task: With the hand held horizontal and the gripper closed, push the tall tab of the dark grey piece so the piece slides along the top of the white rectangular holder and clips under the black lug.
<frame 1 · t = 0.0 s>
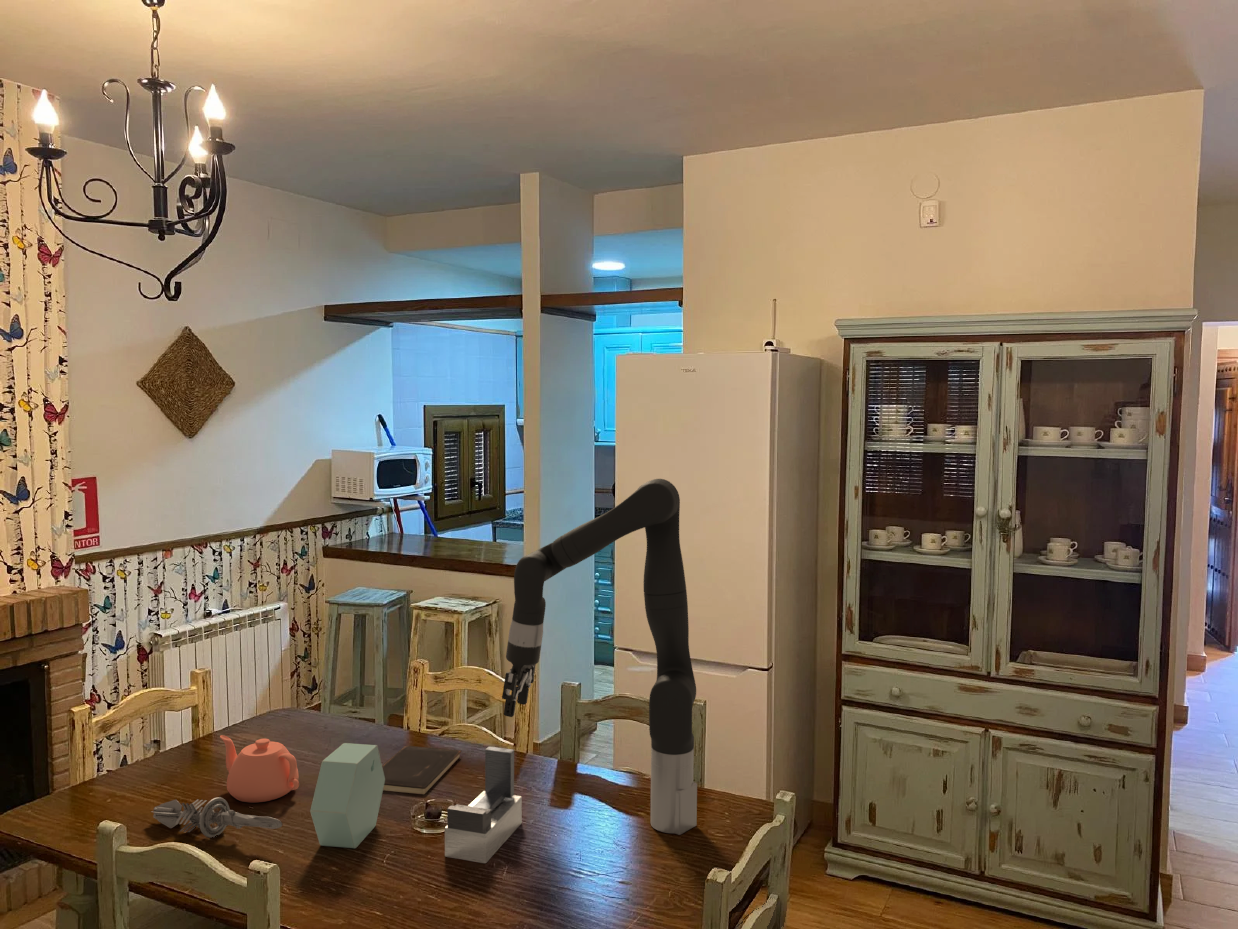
hand: (515, 709, 201), 22 cm above the table, fingers open, 8 cm apart
hardcover book: (413, 775, 221), on the table
dark grey piece: (490, 780, 189), point 11 cm above the table, slide at 0.0 cm
teapot: (259, 792, 209), on the table
white rectangular holder: (484, 839, 187), on the table
spaceship: (216, 836, 188), on the table
mint hexagonal prism: (349, 835, 189), on the table
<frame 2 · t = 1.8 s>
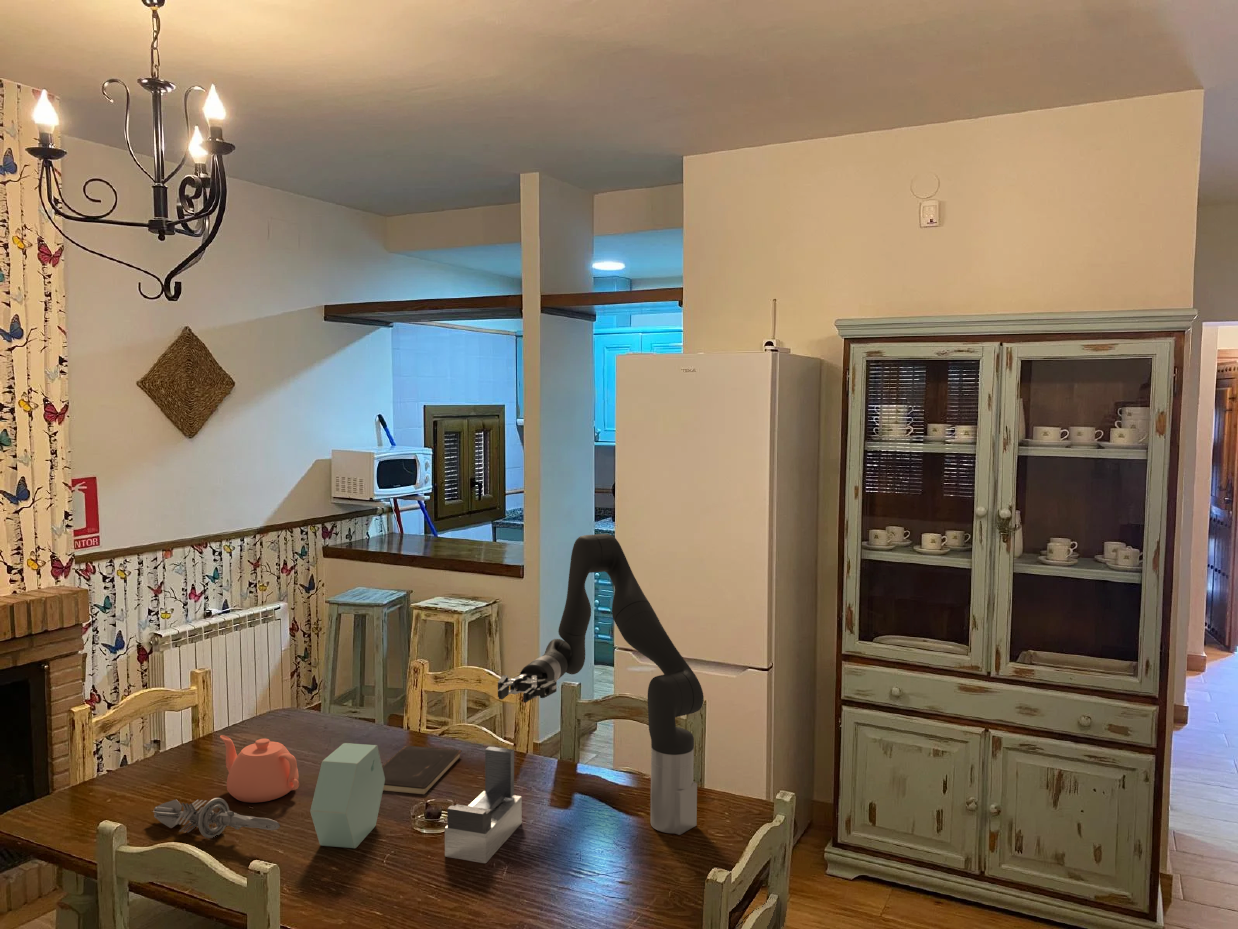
hand: (512, 696, 199), 26 cm above the table, fingers open, 5 cm apart
nothing on the table moved.
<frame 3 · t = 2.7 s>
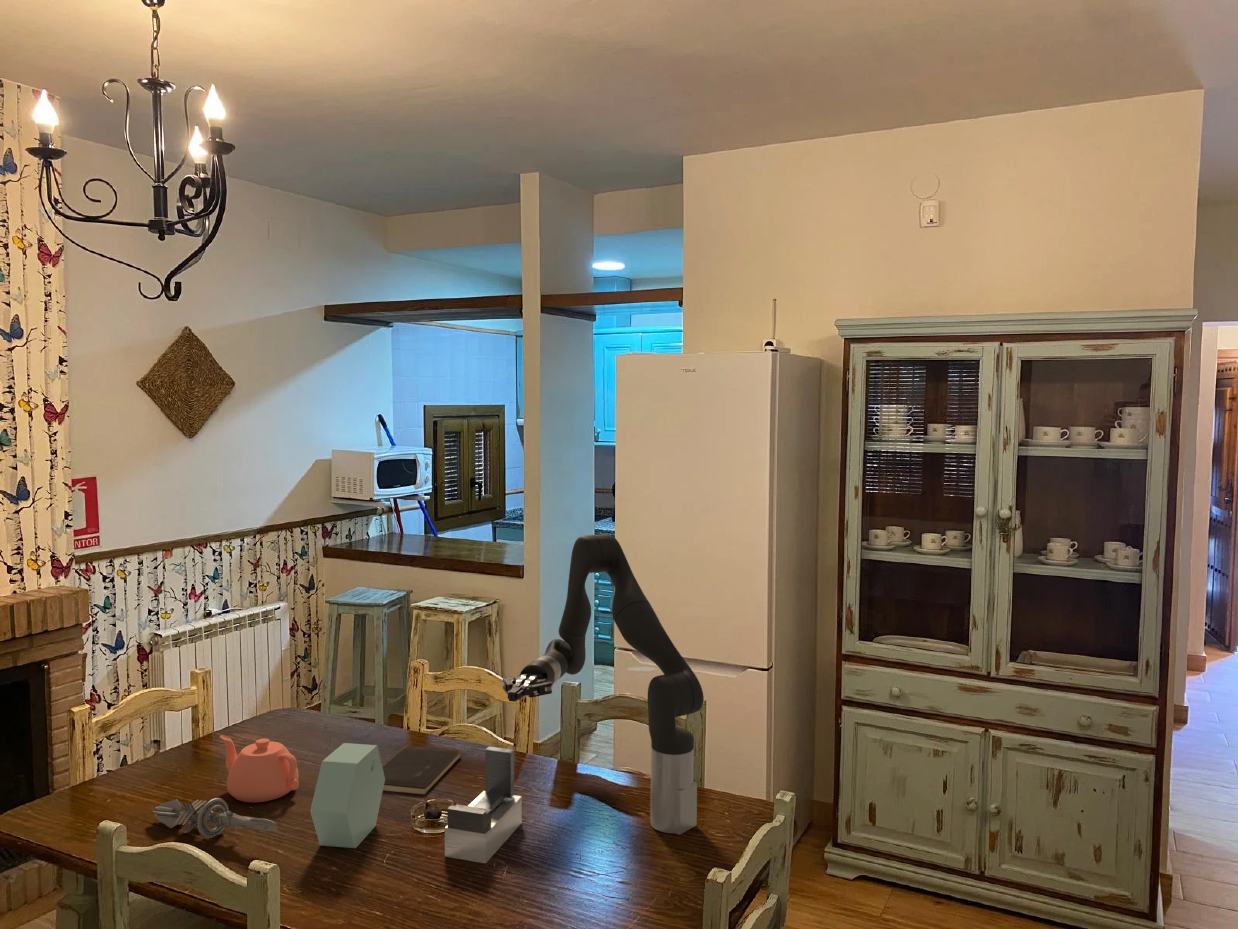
hand: (511, 697, 199), 26 cm above the table, fingers closed
nothing on the table moved.
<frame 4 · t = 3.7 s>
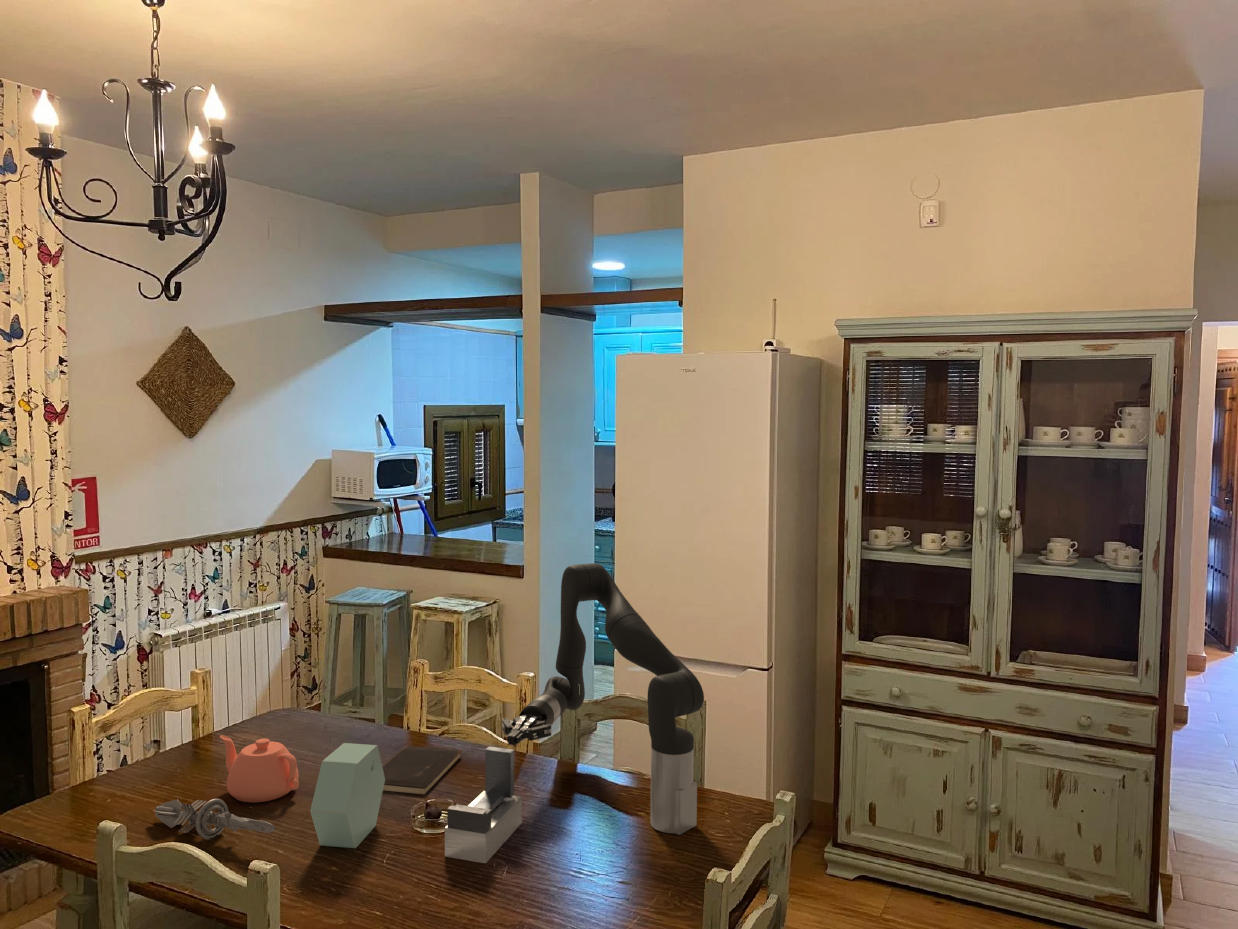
hand: (511, 741, 199), 16 cm above the table, fingers closed
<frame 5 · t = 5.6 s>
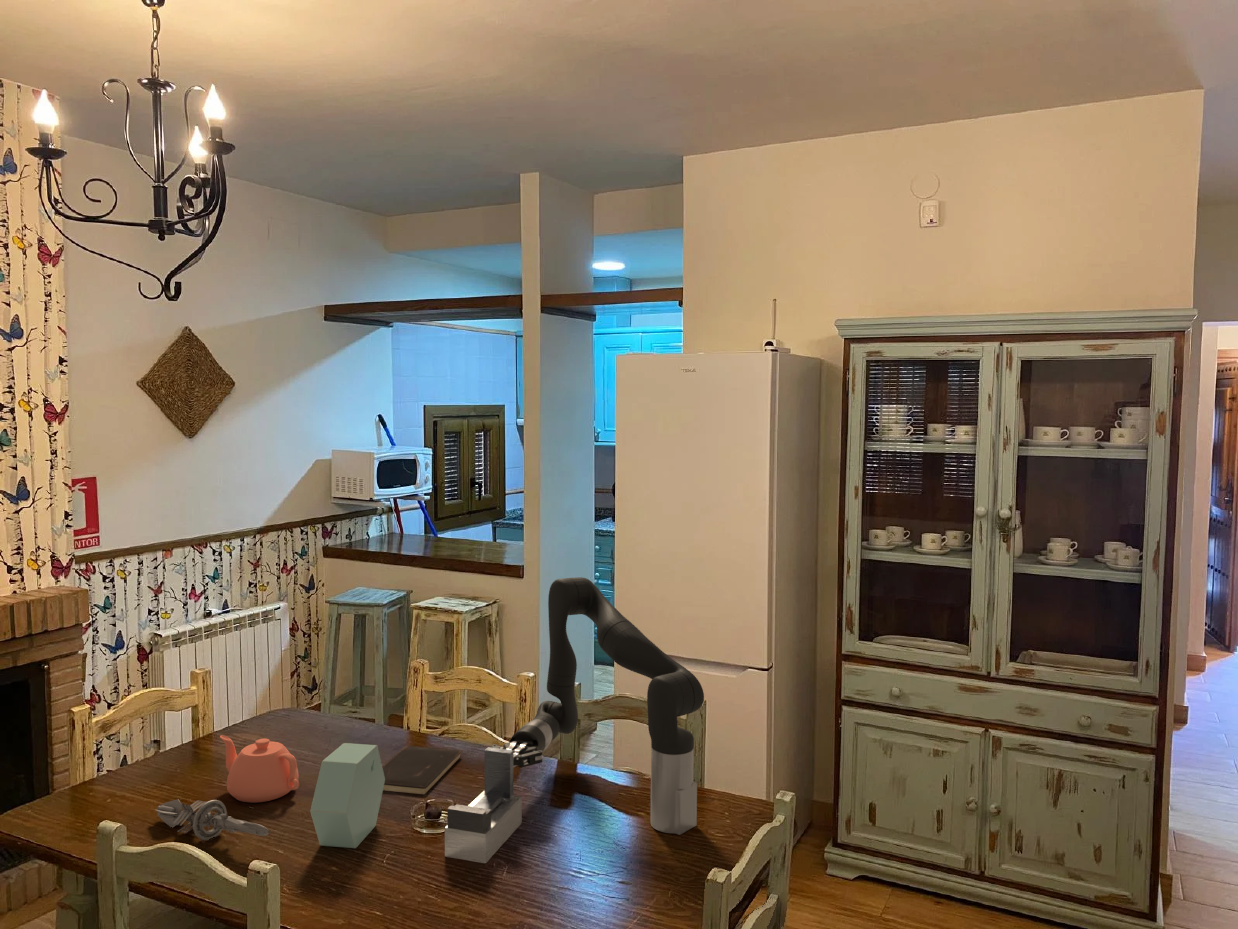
hand: (500, 768, 194), 12 cm above the table, fingers closed
dark grey piece: (489, 781, 189), point 11 cm above the table, slide at 0.4 cm, touching gripper
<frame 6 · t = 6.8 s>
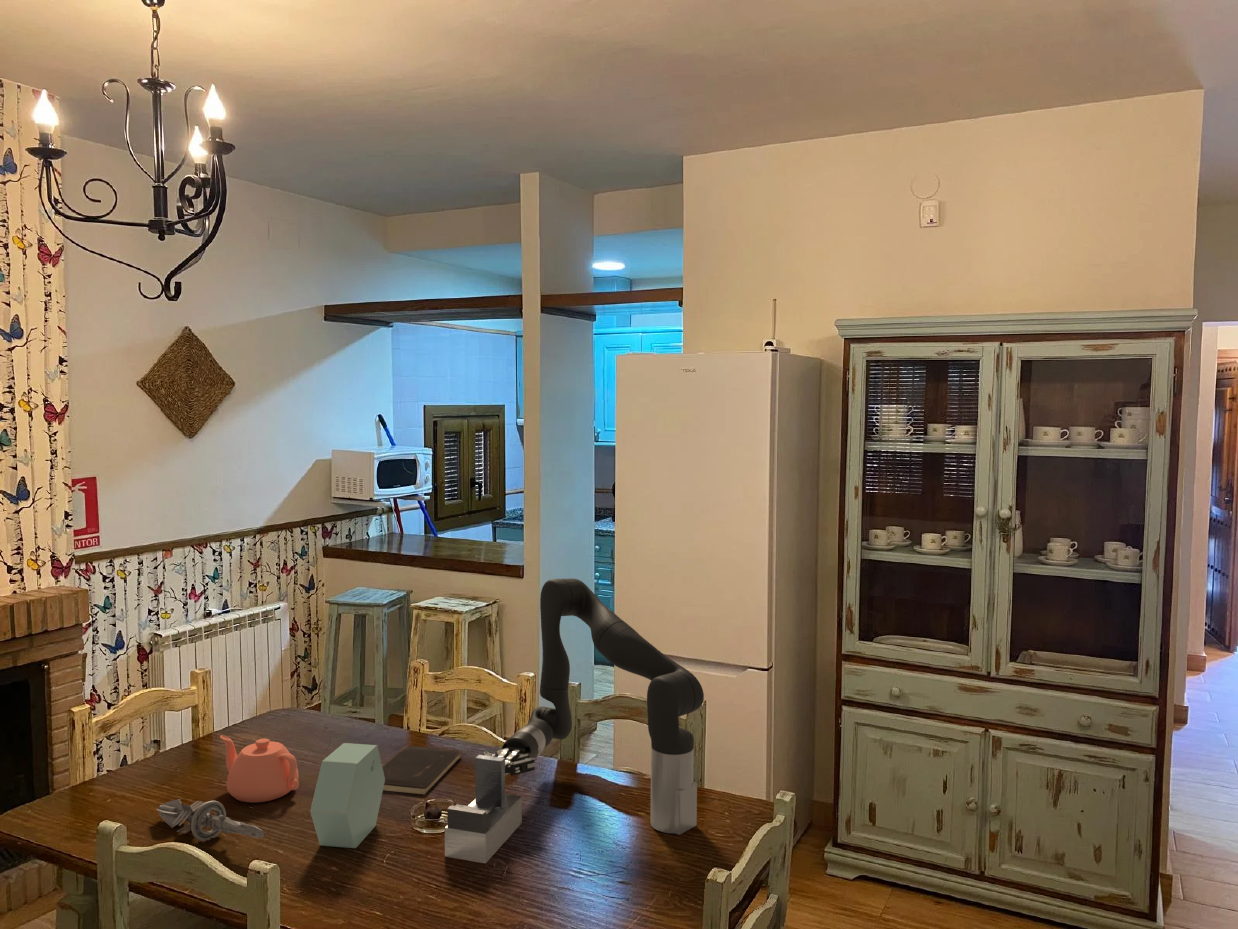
hand: (492, 776, 190), 12 cm above the table, fingers closed
dark grey piece: (480, 790, 185), point 11 cm above the table, slide at 4.8 cm, touching gripper
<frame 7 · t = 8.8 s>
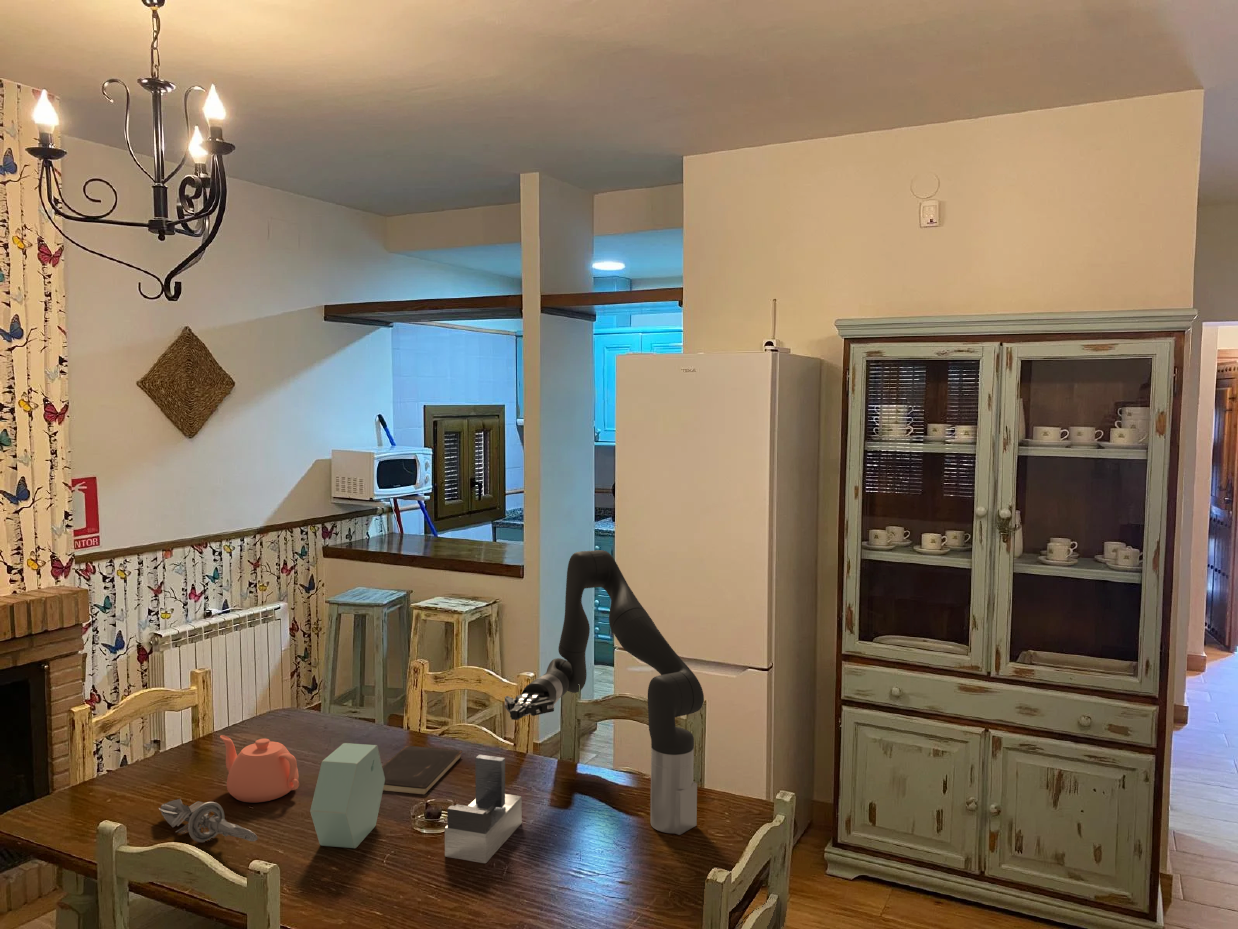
hand: (514, 715, 200), 21 cm above the table, fingers closed
dark grey piece: (480, 789, 185), point 11 cm above the table, slide at 4.7 cm
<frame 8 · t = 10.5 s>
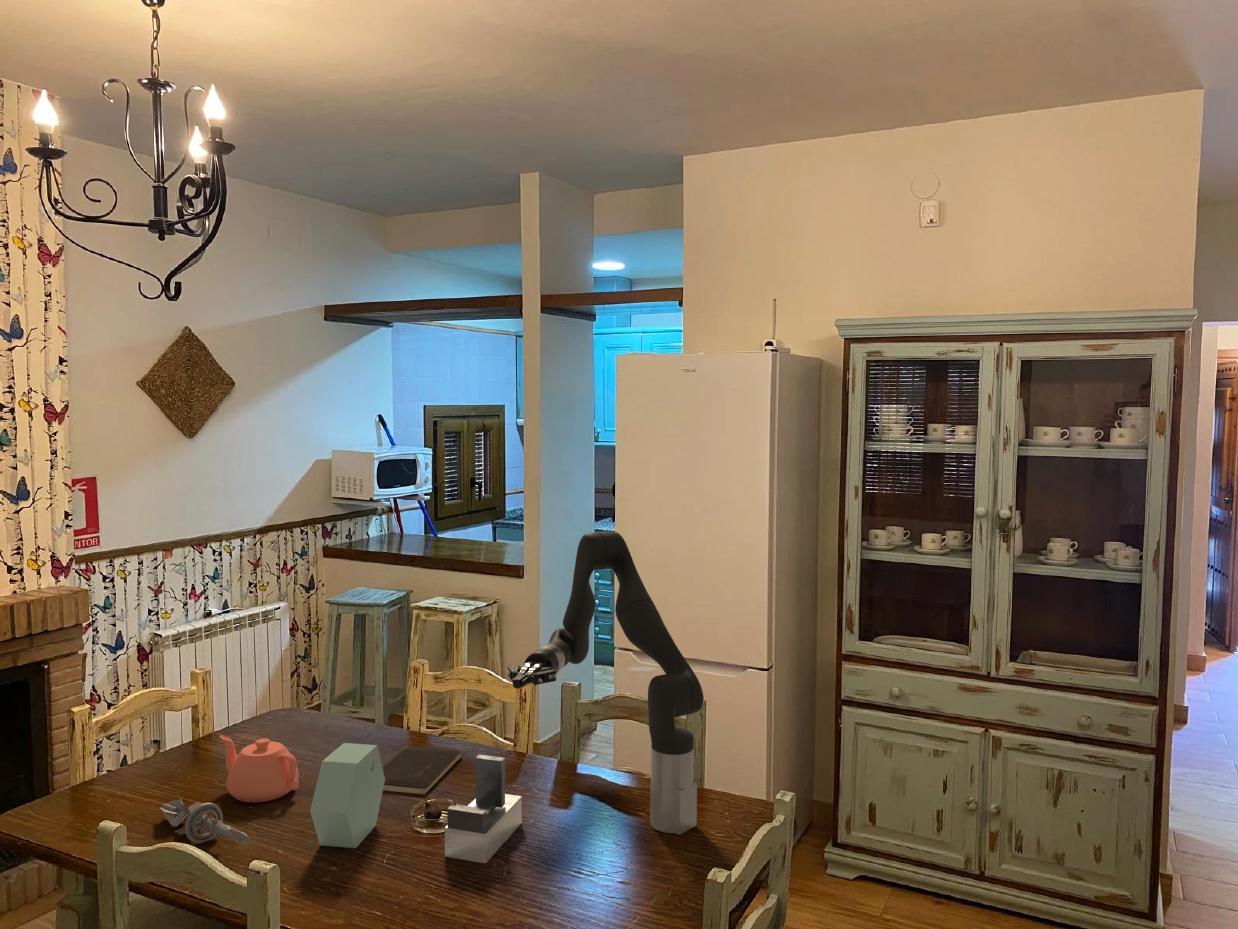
hand: (516, 684, 201), 28 cm above the table, fingers closed
at the end: dark grey piece slide at 4.7 cm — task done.
